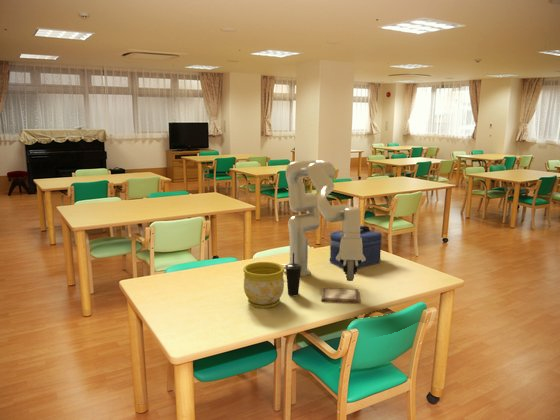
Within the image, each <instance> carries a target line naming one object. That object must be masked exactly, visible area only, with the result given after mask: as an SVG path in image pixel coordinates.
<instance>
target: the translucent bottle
mask: <svg viewBox="0 0 560 420" xmlns="http://www.w3.org/2000/svg"><path fill="white" fill-rule="evenodd" d="M354 265H355V260H347V274H345V275H346V276H345V278H346V281H347V282H353V281H354V279H355V274H354Z"/></svg>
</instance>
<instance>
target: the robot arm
mask: <svg viewBox="0 0 560 420" xmlns="http://www.w3.org/2000/svg"><path fill="white" fill-rule="evenodd" d="M335 174H336V170H335V167H334V165H333V163H331V162H330V161H326V160H318V159H315V160H313V159H308V160H296V161H292V162H290V163H288V164H287V166H286V167H285V178H286V183H287V187H288V199H289V201H288V202H289V208H290V210H291V211H292V212H293V213H301V212H303V213H301V214H294V215H292V216H291V217H290V218H289V219H288V221H287V226H288V227H287V228H288V232H289V263H287V264H285V263H282V264H281V265H282V266H283V267H284V270H286V268H285V266H286V265H288V264H291V263H293V253H294V263H296V264H299V265H301V266H302V268H301V273H300V277H306V276H308V275H310V274H311V269H309V267H308V263H309V261H308V258H309V257H308V256H309V254H308V253H309V252H308V251H309V250H308V248H309V247H308V246H309V243H308V238H307V236H306V234H305V233H308V232H312V231H313V232H314V231H317V230H318V229H319V227H320V224H321V222H320V221H321V218H320V214H321V216H322V217H323V219H324V220H325V221H326V222H328V223H337V222H342V223H343V224H342V227H343V229H342V230H343V231H342V232H340V235H342V236H343V237H342V238H341V243H340V252H339V253H338V255H337V256H336V260H338V261H340V262H341V263H342V264H343V266H344V268H343V267H342V268H343V270H342V272H344V274H345V275H346V274H347V265H346V261H347V260H355V265H354V276H355V275H356V273H358V269H357V266H358V265H359V264H360V263H361V262H363V261H365V260H366V258H365V256H364V255H363V253H362V239H361V237H360V226H361V219H362V218H361V217H362V215H361V214H362V213H361V212H362V211H361V209H360V208H359V207H354V206H352V205H349V204H347V203H345V204H333V205H331V204H330V203H329V201H328V199H327V196H328V195H330V194H331V193H332V192H333V190H334V189H335V184H334V182H333V180H332V178H333V177H334V176H335ZM301 178H309V180H310V181H311V182H312V184H313V186H314V188H315V189H316V191H317V193H318V194H317V196H316V194H315V193H312V192H306V189H305V188H306V186H305V183H304V182H303V179H301ZM304 212H306V213H304Z"/></svg>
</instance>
